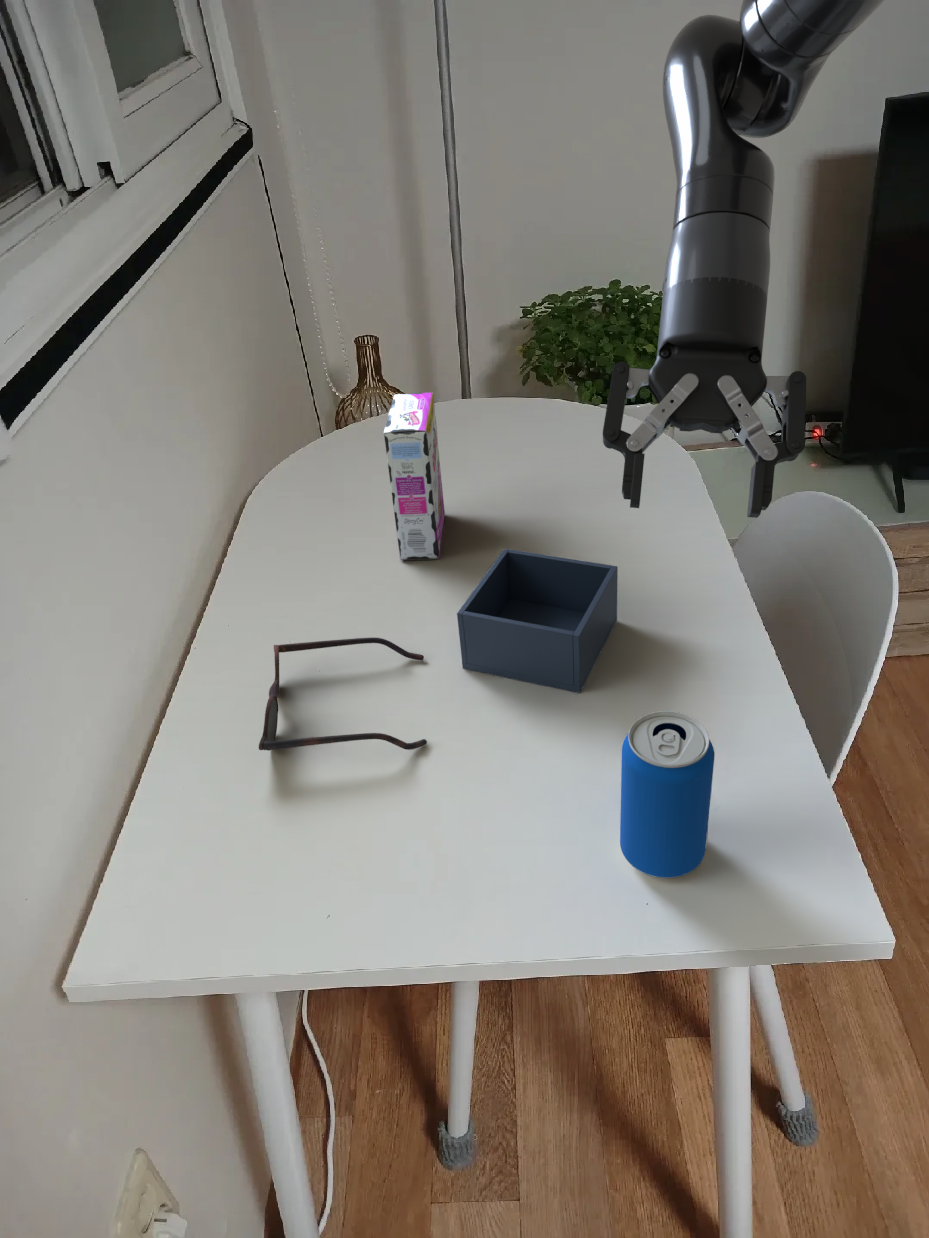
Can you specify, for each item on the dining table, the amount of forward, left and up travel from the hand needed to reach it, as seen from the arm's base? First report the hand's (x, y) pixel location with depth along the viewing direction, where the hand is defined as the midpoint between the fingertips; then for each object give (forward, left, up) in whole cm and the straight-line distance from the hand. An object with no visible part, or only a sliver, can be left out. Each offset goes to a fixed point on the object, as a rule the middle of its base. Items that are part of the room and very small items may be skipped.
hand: (694, 511), depth 70 cm
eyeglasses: (+30, +5, -24) cm, 39 cm away
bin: (+16, -10, -24) cm, 30 cm away
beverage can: (-2, +12, -24) cm, 27 cm away
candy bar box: (+37, -26, -24) cm, 52 cm away
